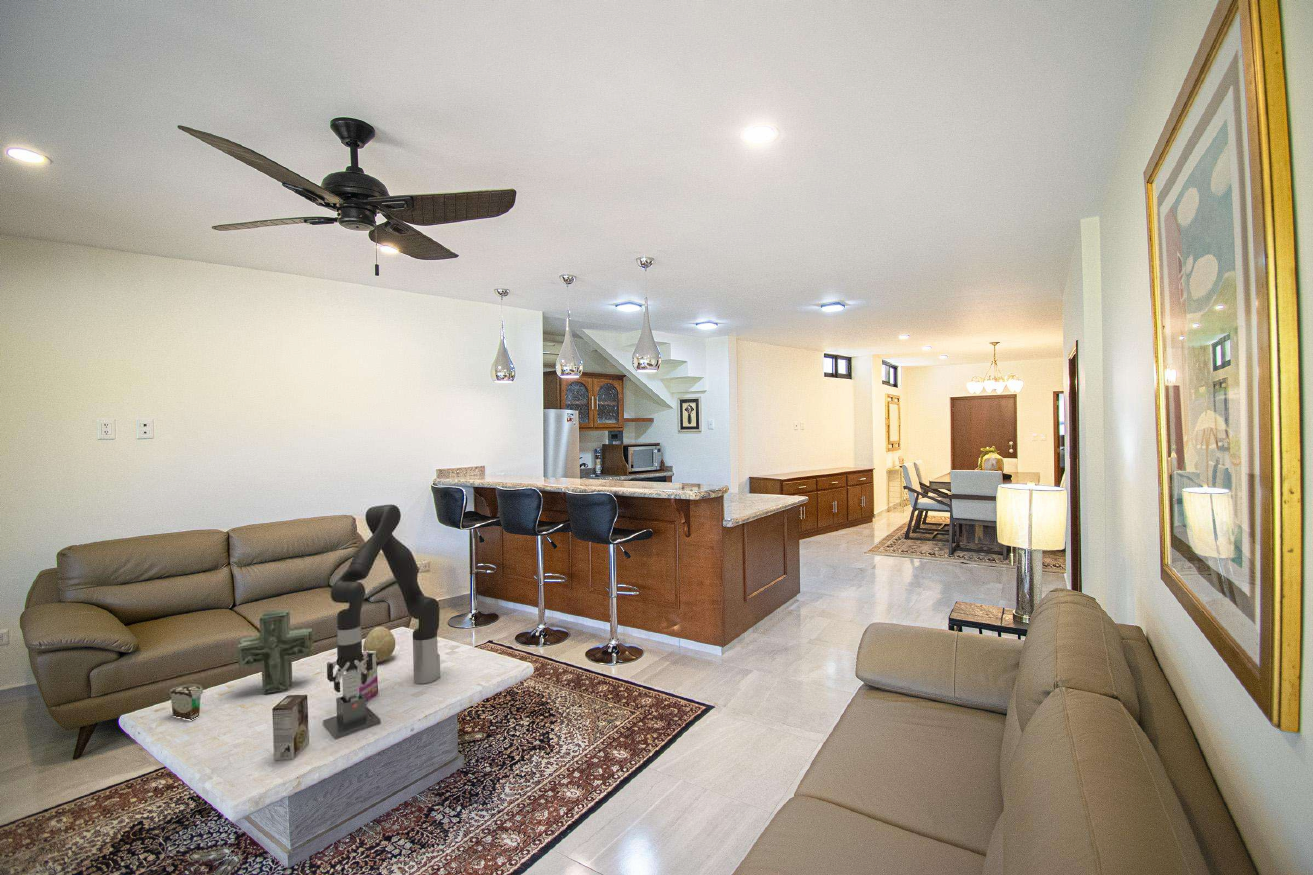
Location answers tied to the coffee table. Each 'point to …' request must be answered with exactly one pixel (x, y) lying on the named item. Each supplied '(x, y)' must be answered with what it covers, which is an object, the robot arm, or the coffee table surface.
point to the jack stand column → (350, 686)
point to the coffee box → (290, 727)
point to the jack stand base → (351, 717)
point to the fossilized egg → (380, 643)
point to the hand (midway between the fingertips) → (350, 687)
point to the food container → (186, 701)
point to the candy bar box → (368, 677)
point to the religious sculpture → (275, 650)
